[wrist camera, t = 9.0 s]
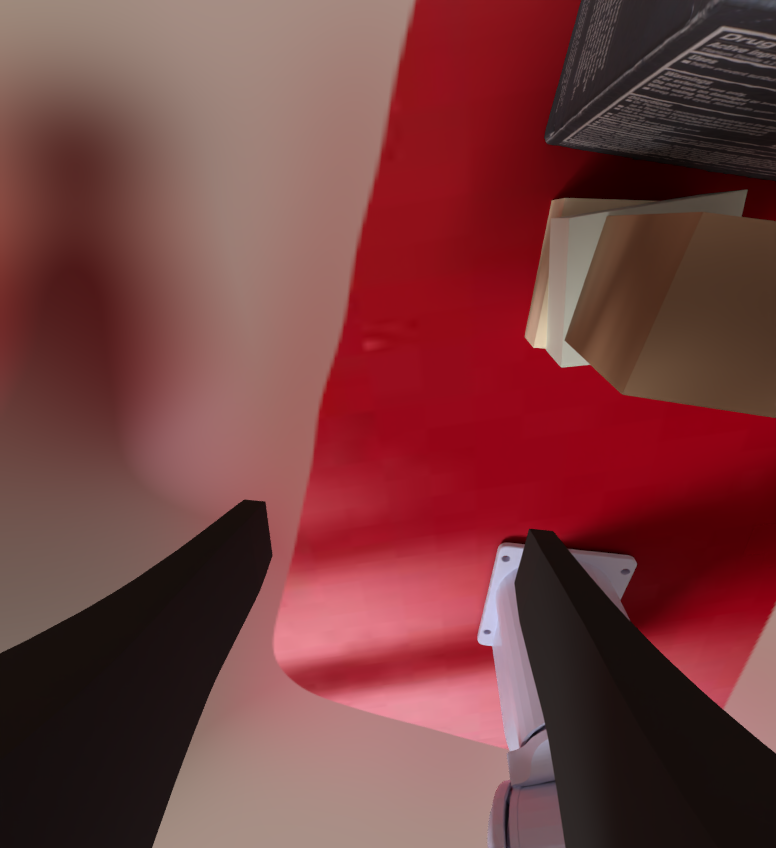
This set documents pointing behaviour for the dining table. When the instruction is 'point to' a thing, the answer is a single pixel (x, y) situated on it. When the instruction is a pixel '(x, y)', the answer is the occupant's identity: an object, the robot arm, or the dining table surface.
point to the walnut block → (683, 310)
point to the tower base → (539, 304)
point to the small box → (672, 84)
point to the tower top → (576, 249)
